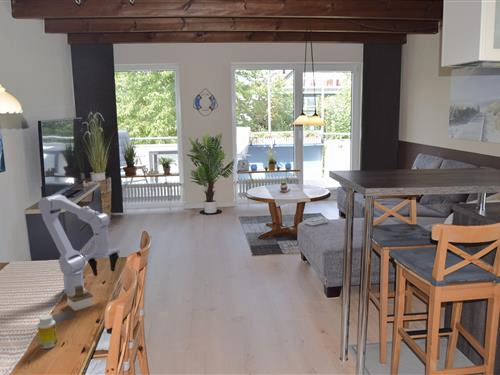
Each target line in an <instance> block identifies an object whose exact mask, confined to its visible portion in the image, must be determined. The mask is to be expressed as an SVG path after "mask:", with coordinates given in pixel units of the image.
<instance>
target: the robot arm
mask: <svg viewBox="0 0 500 375" xmlns="http://www.w3.org/2000/svg"><path fill="white" fill-rule="evenodd" d="M37 205H38V206H37V207H38V209H39V211H40V213H41V216H42V220H43V222H44V224H45V226H46V228H47V231H48V232H49V234H50V235H51V238H52V240H53V242H54V243H55V246H56V249H57V250H58V252H59V253H60V256H59V258H58V264H59V269H60V272H61V273H62V274H63V275H62V278H63V289H62V290H61V291H62V292H63V291H64V292H63V293H64V294H66V296H67V295H68V294H72V293H75V286H79V285H81V286H83V290H86V291H88V289H86V288H85V285H84V284H85V283H84V274H83V271H84V268H85V267H86V262H87V263H88V265H89V266H90V268H91V271H92V274H93V276H95V277H97V276H98V268H97V267H98V266H97V265H98V261H97V260H96V259H99V258H103V257H109V264H110V266H109V268H110V271H112V272H115V268H116V265H117V262H118V260H119V257H120V256H119V254H121V250H120V248H118V247H117V248H113V249H112V248H110V242H109V241H110V240H109V227H108V226H109V225H110V223H111V218H110V216H109V215H108V214H107V213H106V212H101V213H100V212H99V211H97V210H96V211H95V210H94V209H91V207H90V206H88V205H86V206H82V207H81V206H80V205H78V204H76V203H75V202H72V201H71V200H69V198H68V199H67V197H66V196H65V195H63V194H60V193H57V194H54V195H51V196H46V197H45V196H43V197H41V198H40V199H39V201H38V204H37ZM62 210H65V211H68V212H70V213H73V214H74V215H77V218H78V220H81V221H83V222H85V223H87V224H89V225H90V227H91V229H92V232H93V238H94V250H95V251H94V252H91V253H89V254H87V255H86V254H85V255H83V256H82V254H81V253H80V251H78V250H76V249H74V248H73V246H72V244H71V242H70V240H69V237H68V236H67V234H66V232H65V230H64V228H63V226H62V223H61V222H60V220H59V217H58V216H59V214H60V213H61V212H62Z"/></svg>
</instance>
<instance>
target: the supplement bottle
mask: <svg viewBox="0 0 500 375" xmlns="http://www.w3.org/2000/svg"><path fill="white" fill-rule="evenodd" d="M52 315H53V314H44V315H42V316H40V317H39V322H38V324H37V332H38V341H39V342H38V343H39V347H40V348H41V349H50V348H53V347H55V346H56V345H57V344H58V336H57V334H58V333H57V325H56V324H57V323H55V321H54V320H53V318H52Z"/></svg>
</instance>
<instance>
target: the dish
mask: <svg viewBox="0 0 500 375" xmlns="http://www.w3.org/2000/svg"><path fill="white" fill-rule="evenodd" d="M66 299H67V300H66V301H67V306H68V307H69V308H70V309H72V311H74V312H76V311H79V310H82V309H87V308H89V307H92V306H94V302H93V297H91V298H87V299H84V300H80V301H77V302H72V301H71V300H70V299H69V298H68V297H67V296H66Z"/></svg>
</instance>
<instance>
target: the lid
mask: <svg viewBox="0 0 500 375" xmlns="http://www.w3.org/2000/svg"><path fill="white" fill-rule="evenodd" d="M86 290H87V289H86ZM86 290H83V286H81V285H79V286H75V293H72V294H68V295H67V294H66V298H67V297H68V298H69V299H70V300H71V301H72V302H77V301H80V300H84V299H87V298H91V297H92V298H93V297H94V296H93V294H92V293H90V291H88V290H87V291H86Z"/></svg>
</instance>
